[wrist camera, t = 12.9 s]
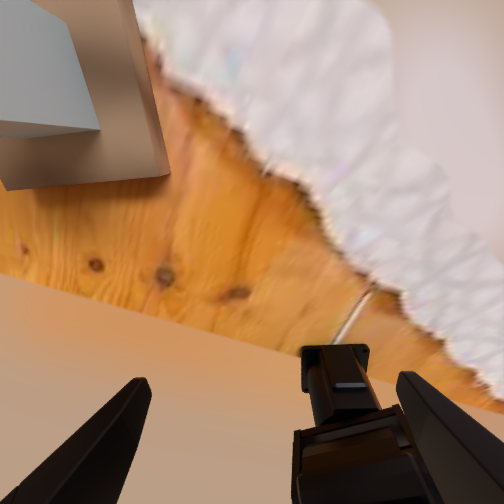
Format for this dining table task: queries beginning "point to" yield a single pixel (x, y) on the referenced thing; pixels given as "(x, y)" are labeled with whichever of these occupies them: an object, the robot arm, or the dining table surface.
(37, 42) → the slate block
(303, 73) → the dining table surface
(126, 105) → the walnut plinth
